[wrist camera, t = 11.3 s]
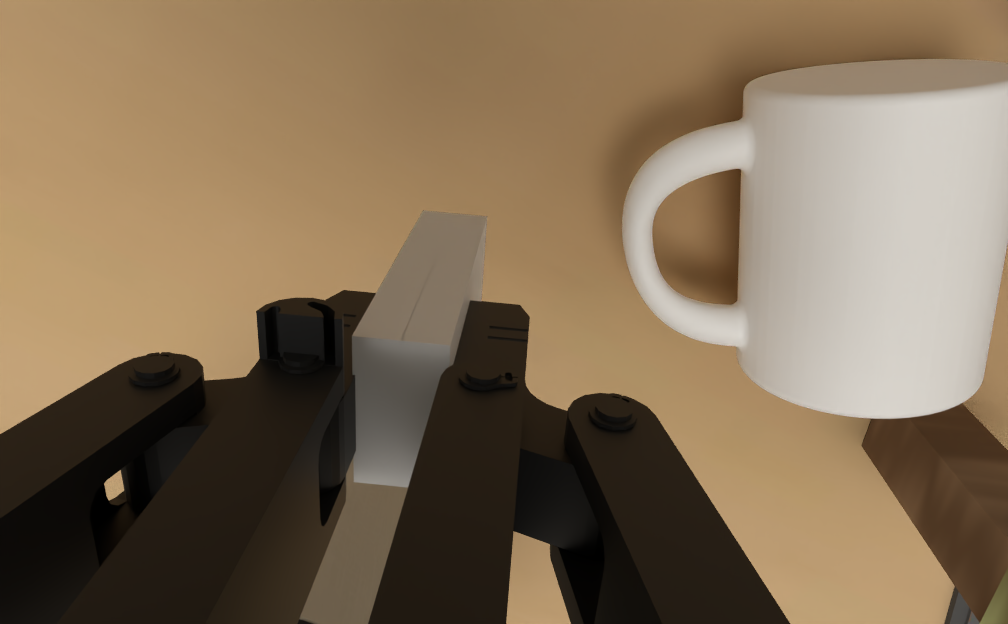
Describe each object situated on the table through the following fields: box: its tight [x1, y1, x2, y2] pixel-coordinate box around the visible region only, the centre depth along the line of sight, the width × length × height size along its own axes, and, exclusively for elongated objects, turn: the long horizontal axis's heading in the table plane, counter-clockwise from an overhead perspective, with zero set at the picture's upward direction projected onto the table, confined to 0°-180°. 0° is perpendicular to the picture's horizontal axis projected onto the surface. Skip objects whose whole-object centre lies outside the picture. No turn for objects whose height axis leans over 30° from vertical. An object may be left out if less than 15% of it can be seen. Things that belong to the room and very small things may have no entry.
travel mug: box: [298, 459, 408, 624], centre depth 26 cm, size 8×8×18 cm
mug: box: [622, 59, 1008, 419], centre depth 25 cm, size 12×10×8 cm
